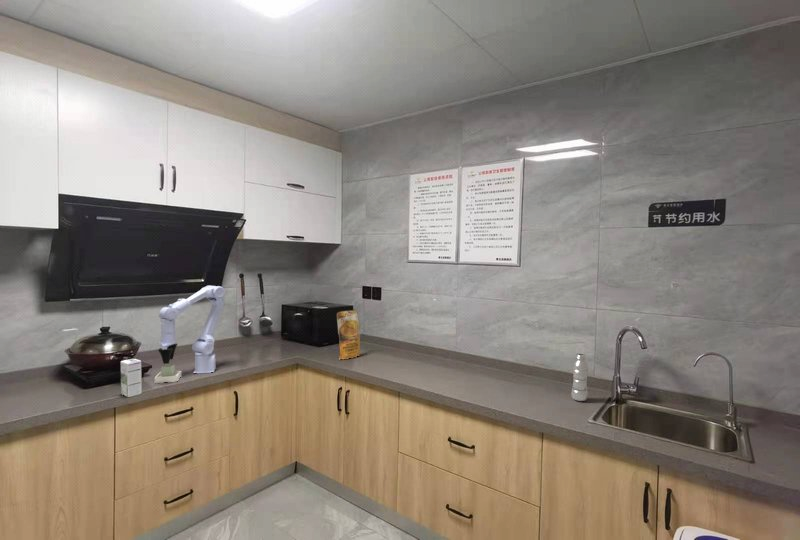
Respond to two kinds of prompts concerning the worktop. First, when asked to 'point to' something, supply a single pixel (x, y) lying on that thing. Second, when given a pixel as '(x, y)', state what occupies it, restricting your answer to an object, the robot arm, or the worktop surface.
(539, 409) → the worktop surface
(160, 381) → the bin
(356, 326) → the pancake mix bag
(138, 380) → the syrup box
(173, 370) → the block
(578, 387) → the plastic bottle
